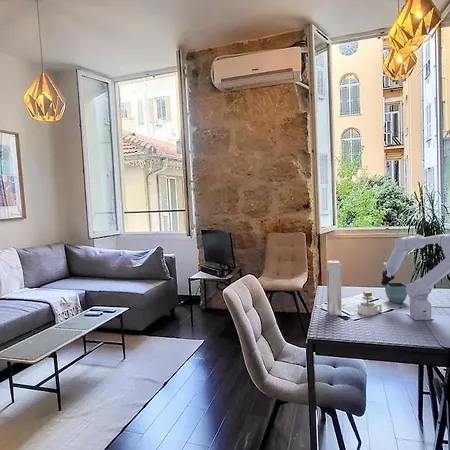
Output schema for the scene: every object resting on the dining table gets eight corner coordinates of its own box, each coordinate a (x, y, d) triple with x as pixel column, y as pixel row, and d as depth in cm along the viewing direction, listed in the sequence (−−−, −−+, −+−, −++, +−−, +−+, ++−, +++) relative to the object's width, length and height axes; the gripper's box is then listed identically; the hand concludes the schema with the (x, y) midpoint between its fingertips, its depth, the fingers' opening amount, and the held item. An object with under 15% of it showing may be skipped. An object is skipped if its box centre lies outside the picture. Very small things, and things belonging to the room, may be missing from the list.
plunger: (374, 305, 183) (374, 293, 183) (364, 306, 183) (364, 293, 183) (370, 303, 188) (370, 290, 187) (360, 303, 188) (360, 290, 187)
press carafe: (384, 314, 182) (384, 306, 182) (362, 315, 182) (362, 307, 182) (377, 309, 190) (377, 301, 190) (356, 310, 190) (356, 302, 190)
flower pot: (408, 304, 196) (408, 286, 196) (390, 304, 197) (390, 286, 196) (401, 299, 205) (401, 282, 204) (384, 299, 205) (384, 282, 205)
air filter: (342, 315, 183) (341, 262, 181) (327, 315, 184) (326, 262, 182) (341, 311, 189) (340, 259, 187) (327, 311, 190) (326, 260, 188)
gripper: (390, 248, 194) (379, 269, 201) (384, 262, 183) (373, 284, 190) (404, 254, 192) (393, 276, 199) (400, 269, 181) (388, 291, 188)
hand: (384, 280), depth 194 cm, fingers open, 7 cm apart
